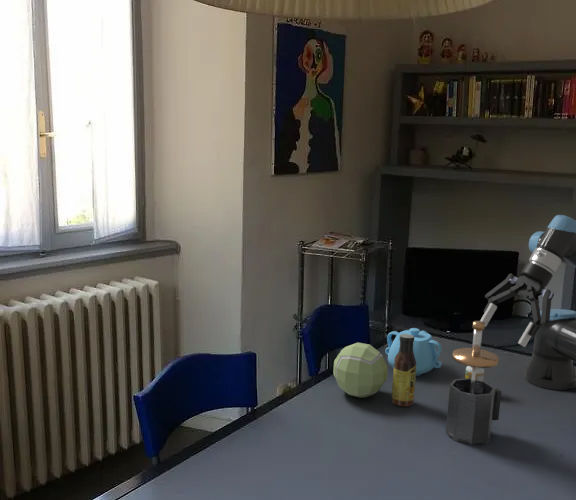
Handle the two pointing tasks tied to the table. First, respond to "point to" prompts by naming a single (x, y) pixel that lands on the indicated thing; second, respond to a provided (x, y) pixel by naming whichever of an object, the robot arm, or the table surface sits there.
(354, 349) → the decorative sphere
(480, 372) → the supplement bottle
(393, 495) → the table surface
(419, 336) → the decorative pot
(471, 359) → the plunger
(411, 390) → the sauce bottle
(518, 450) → the table surface
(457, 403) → the press body
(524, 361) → the table surface
